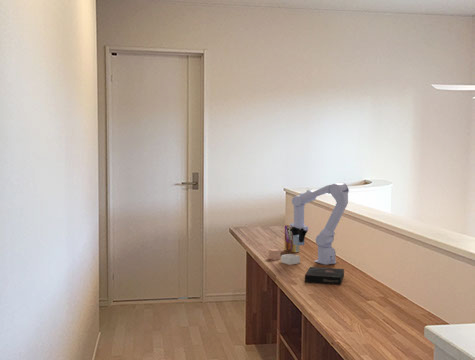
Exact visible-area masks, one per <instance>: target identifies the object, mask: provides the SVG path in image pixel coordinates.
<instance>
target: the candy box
mask: <svg viewBox="0 0 475 360" xmlns="http://www.w3.org/2000/svg"><path fill="white" fill-rule="evenodd" d="M290 228H292V227H290V223H289V224H285V225H284V251H286V252H290V253H291V252H292V253H301V252H300V248H301V245H299V246H297V245H294V244H293V234H292V232H291V230H290Z"/></svg>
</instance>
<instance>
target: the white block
mask: <svg viewBox="0 0 475 360" xmlns="http://www.w3.org/2000/svg"><path fill="white" fill-rule="evenodd" d="M300 258H301V257H300V255H297V254H295V253H294V254H293V253H287V254H282V255H281V254H280V263H282V264H286V265H290V266H291V265H296V264H301V263H300V261H301V260H300Z"/></svg>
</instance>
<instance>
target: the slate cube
mask: <svg viewBox="0 0 475 360" xmlns="http://www.w3.org/2000/svg"><path fill="white" fill-rule="evenodd" d="M293 244H294V245H297V246H299V245H300V246H304V245H305V240H304V241H303V242H301V243H300V241H299V235H293Z"/></svg>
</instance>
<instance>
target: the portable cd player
mask: <svg viewBox="0 0 475 360" xmlns="http://www.w3.org/2000/svg"><path fill="white" fill-rule="evenodd" d="M344 276H345V269H344V268H334V267H333V268H331V267H318V266H316V267H315V266H310V267H309V268H308V269H307V271H306V273H305V274H304V283H305V284H307V283H308V284H321V285H333V286H334V285H335V286H341V285H342V282H343V279H344Z"/></svg>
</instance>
